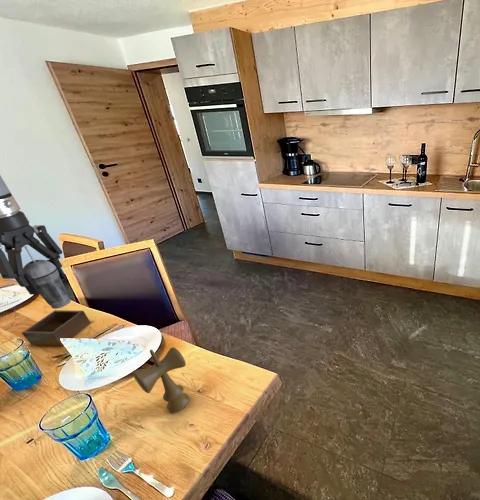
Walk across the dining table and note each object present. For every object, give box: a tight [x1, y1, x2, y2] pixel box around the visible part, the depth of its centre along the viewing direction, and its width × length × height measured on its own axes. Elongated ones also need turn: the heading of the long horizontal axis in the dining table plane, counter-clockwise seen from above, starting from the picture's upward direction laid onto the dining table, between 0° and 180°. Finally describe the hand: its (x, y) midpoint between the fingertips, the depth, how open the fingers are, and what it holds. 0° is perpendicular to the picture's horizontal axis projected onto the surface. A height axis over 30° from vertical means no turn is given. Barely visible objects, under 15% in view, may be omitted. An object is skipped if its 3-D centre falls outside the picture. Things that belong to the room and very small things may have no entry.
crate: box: [21, 309, 91, 347], centre depth 99 cm, size 11×11×6 cm
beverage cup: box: [23, 245, 72, 310], centre depth 86 cm, size 7×7×20 cm
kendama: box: [132, 346, 190, 413], centre depth 70 cm, size 6×10×20 cm, turn 145°
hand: (49, 285), depth 87 cm, fingers closed on beverage cup, 7 cm apart
